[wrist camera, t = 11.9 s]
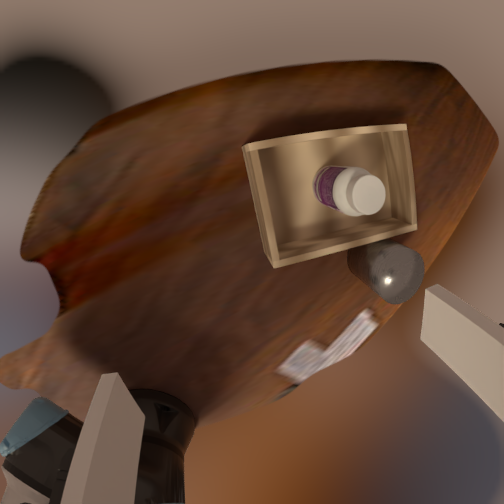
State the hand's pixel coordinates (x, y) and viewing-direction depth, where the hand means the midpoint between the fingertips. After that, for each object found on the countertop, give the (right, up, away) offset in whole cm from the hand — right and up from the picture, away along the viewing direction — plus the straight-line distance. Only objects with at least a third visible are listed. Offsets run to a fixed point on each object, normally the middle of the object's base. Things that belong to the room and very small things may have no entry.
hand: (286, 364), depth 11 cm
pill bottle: (+9, +13, +25) cm, 29 cm away
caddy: (+8, +13, +25) cm, 30 cm away
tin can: (+15, +4, +29) cm, 34 cm away
